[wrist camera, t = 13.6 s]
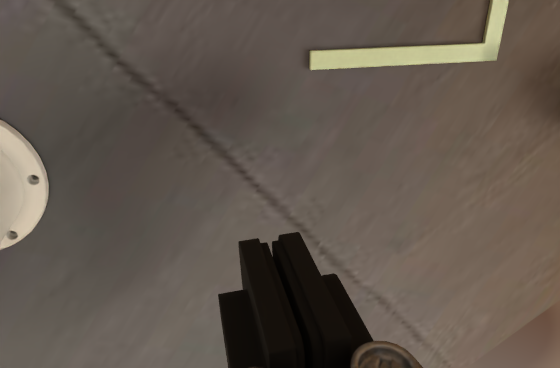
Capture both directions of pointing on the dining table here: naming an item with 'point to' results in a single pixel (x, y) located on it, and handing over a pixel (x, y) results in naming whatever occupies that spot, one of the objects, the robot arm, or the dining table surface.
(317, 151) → the dining table surface
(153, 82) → the dining table surface
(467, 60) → the frame
